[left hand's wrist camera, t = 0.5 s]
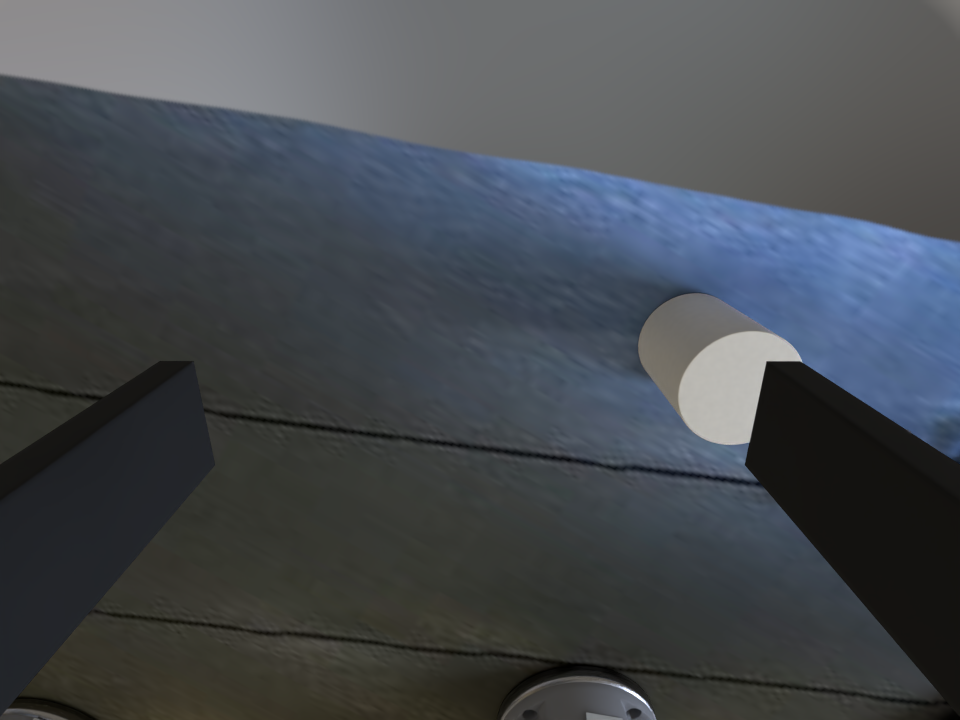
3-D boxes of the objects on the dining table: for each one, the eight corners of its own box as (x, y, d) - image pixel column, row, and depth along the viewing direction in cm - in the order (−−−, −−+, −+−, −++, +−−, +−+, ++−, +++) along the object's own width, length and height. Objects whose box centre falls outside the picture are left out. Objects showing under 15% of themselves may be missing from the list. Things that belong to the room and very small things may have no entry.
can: (744, 289, 36) (814, 326, 29) (734, 383, 39) (796, 440, 31) (639, 297, 37) (681, 335, 29) (636, 390, 39) (674, 449, 32)
